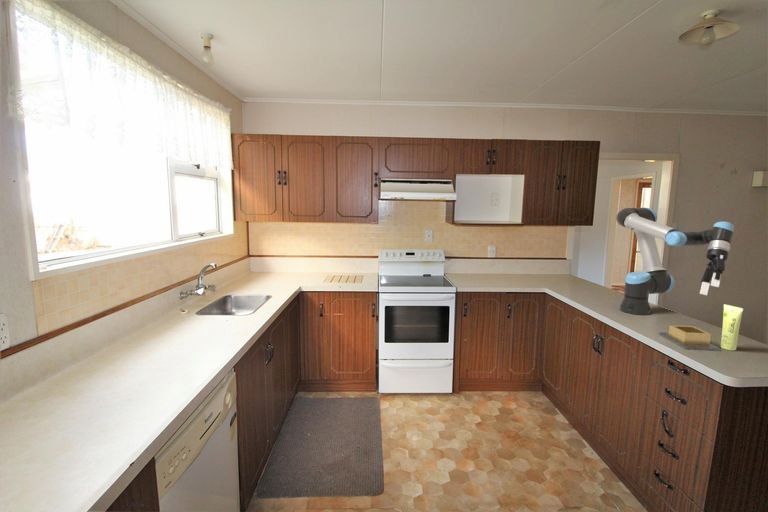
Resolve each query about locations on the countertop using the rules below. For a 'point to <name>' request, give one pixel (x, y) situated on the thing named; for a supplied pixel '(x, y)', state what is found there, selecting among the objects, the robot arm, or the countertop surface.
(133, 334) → the countertop surface
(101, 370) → the countertop surface
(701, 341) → the collar plate
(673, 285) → the robot arm
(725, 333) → the tube
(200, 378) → the countertop surface
